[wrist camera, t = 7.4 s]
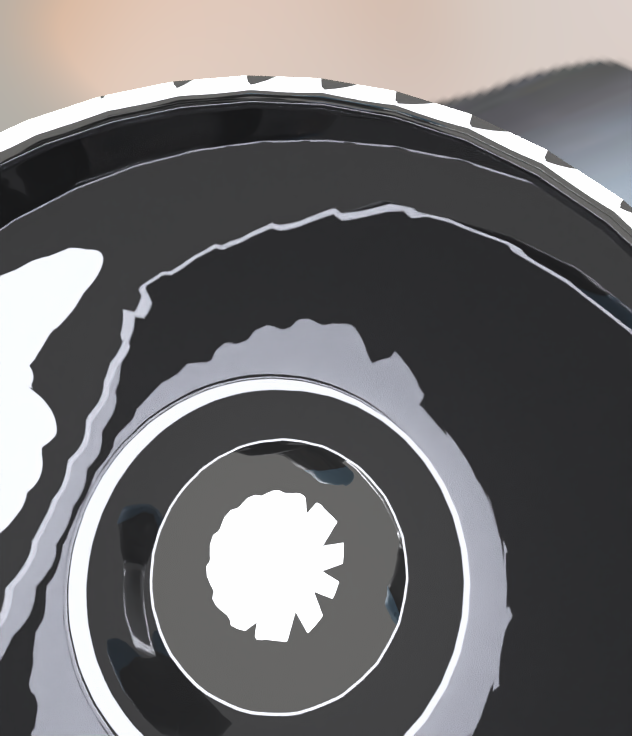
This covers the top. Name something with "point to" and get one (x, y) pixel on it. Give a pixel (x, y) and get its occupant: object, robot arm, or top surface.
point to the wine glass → (310, 421)
